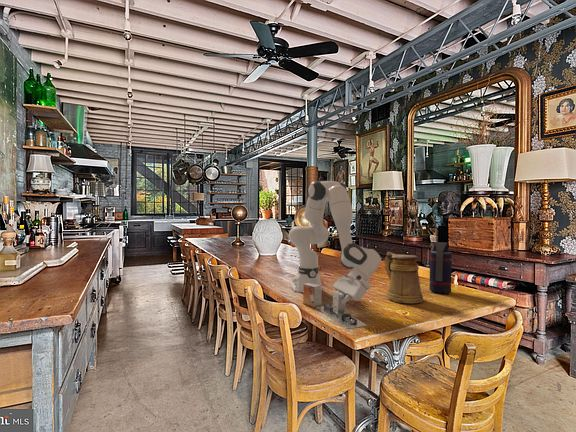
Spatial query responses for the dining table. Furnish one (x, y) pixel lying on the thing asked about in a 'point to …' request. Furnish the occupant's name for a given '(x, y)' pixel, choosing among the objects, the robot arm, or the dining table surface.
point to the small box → (312, 294)
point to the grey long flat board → (341, 317)
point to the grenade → (440, 268)
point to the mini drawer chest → (338, 302)
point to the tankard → (403, 278)
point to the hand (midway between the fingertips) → (338, 301)
